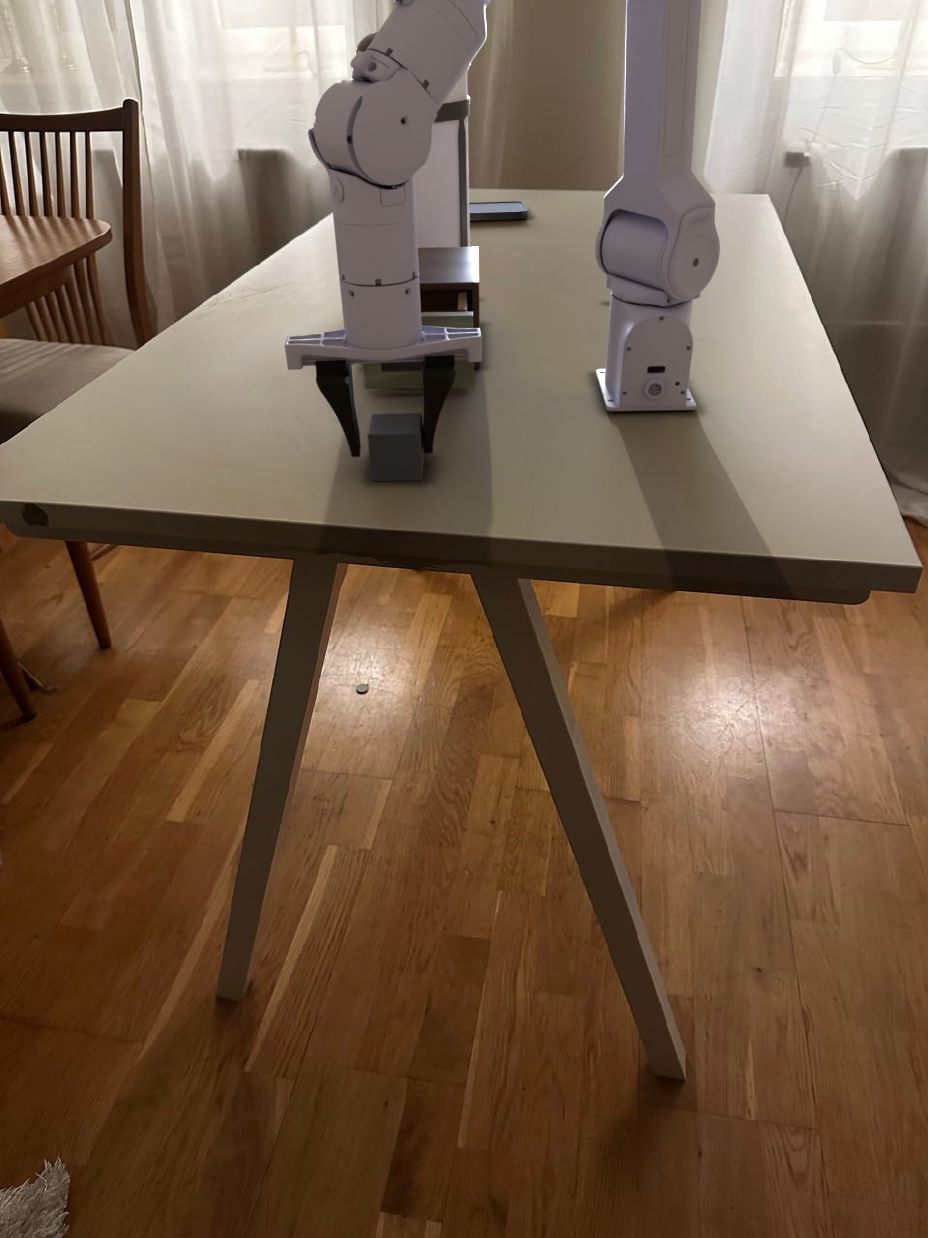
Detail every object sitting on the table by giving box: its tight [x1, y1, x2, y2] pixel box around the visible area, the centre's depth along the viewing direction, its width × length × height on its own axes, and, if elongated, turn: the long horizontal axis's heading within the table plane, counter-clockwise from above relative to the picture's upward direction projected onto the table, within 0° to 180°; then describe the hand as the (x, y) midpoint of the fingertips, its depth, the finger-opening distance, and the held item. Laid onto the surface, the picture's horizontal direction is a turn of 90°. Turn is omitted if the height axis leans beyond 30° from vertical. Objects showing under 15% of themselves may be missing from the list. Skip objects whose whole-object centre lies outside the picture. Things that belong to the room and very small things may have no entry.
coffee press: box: [350, 30, 472, 248], centre depth 104 cm, size 17×16×30 cm
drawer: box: [362, 290, 475, 390], centre depth 86 cm, size 17×10×7 cm, turn 0°
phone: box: [469, 200, 529, 222], centre depth 145 cm, size 8×1×15 cm
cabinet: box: [418, 246, 481, 369], centre depth 94 cm, size 13×11×8 cm
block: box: [367, 412, 425, 482], centre depth 72 cm, size 4×4×4 cm
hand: (392, 449), depth 73 cm, fingers open, 5 cm apart
